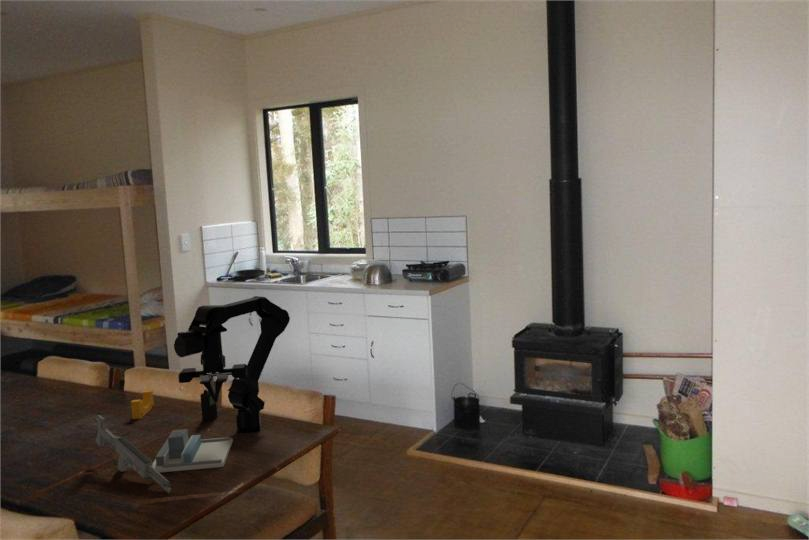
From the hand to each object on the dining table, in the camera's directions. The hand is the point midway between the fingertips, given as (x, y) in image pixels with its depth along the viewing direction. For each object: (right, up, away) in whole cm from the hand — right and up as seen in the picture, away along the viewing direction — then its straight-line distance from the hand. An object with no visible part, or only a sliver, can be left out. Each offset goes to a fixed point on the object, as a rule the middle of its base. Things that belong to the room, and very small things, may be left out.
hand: (216, 402), depth 190 cm
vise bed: (-4, -13, -9) cm, 16 cm away
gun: (-16, -16, -19) cm, 30 cm away
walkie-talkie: (-8, -10, +21) cm, 24 cm away
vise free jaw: (-4, -12, -9) cm, 16 cm away
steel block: (-7, -12, -10) cm, 17 cm away
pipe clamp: (-34, -11, +30) cm, 46 cm away
